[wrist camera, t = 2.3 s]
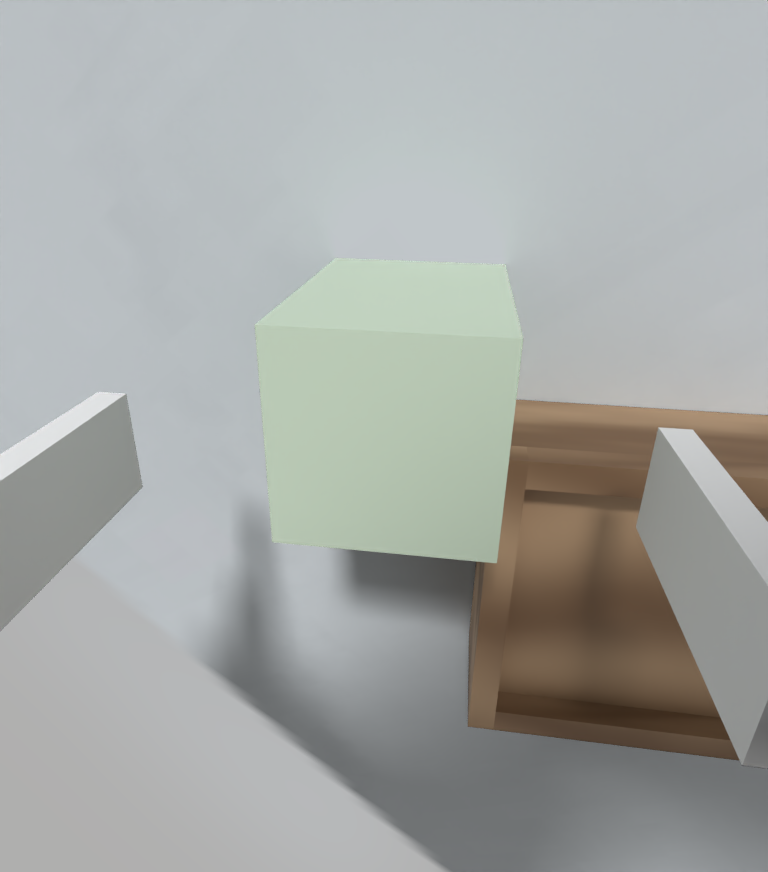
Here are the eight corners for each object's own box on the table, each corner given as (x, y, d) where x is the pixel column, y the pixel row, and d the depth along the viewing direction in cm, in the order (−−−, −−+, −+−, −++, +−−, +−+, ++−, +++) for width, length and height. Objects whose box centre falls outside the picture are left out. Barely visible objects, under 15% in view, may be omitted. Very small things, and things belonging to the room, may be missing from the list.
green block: (336, 258, 22) (254, 324, 14) (505, 264, 21) (523, 338, 13) (339, 411, 24) (272, 542, 16) (489, 421, 24) (496, 563, 16)
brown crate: (492, 398, 23) (496, 458, 19) (829, 419, 22) (920, 490, 17) (468, 635, 28) (467, 726, 24) (739, 664, 27) (791, 766, 23)
